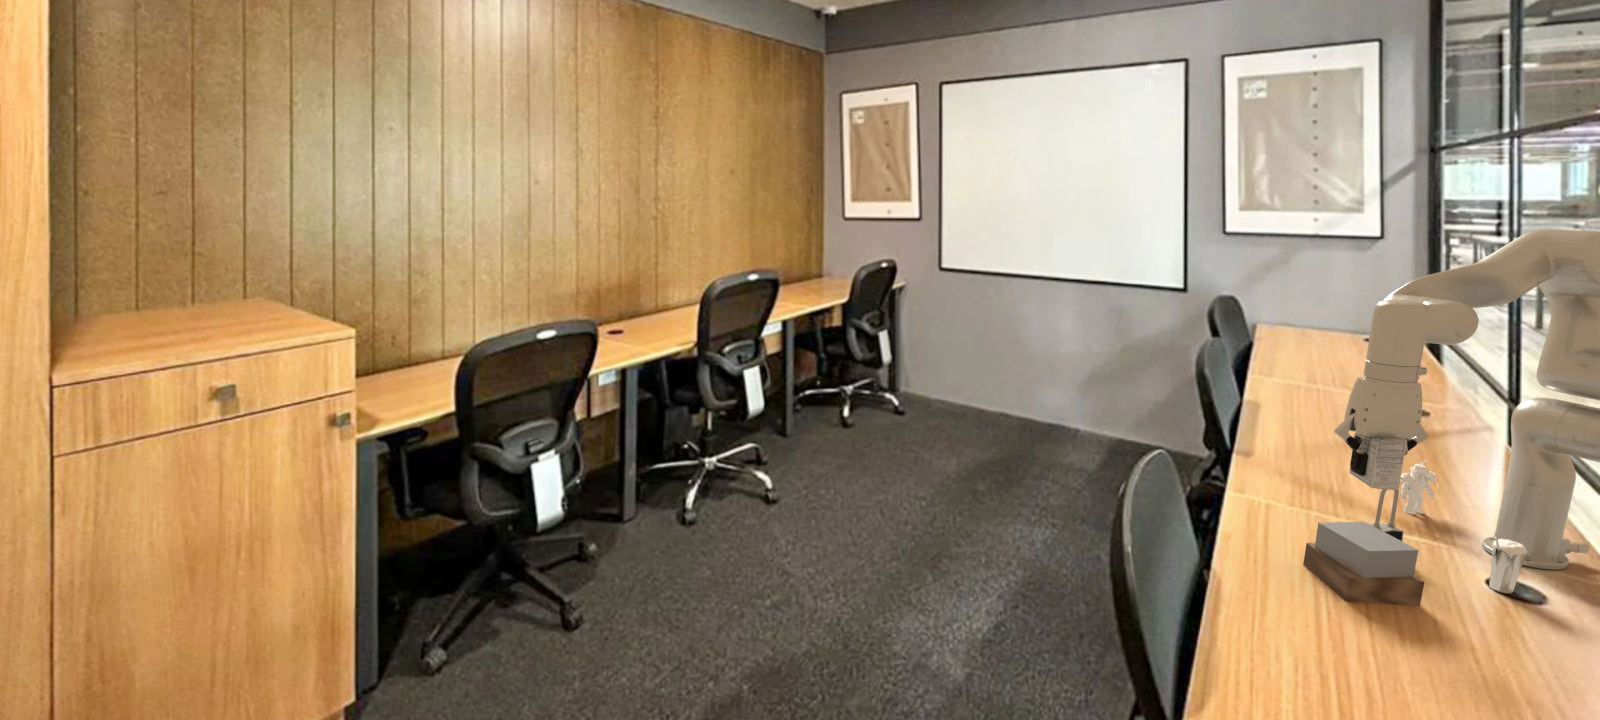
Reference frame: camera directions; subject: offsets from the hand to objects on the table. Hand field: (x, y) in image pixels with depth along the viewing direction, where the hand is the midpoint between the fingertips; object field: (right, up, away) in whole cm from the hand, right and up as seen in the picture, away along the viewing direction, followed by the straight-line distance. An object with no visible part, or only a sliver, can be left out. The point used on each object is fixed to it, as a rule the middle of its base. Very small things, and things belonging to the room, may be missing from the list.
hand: (1374, 473), depth 137 cm
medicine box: (0, -2, 0) cm, 2 cm away
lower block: (0, -21, +4) cm, 22 cm away
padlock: (+12, -19, +16) cm, 27 cm away
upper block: (0, -16, +3) cm, 17 cm away
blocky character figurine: (+37, -14, +38) cm, 55 cm away
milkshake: (+25, -22, +3) cm, 33 cm away
